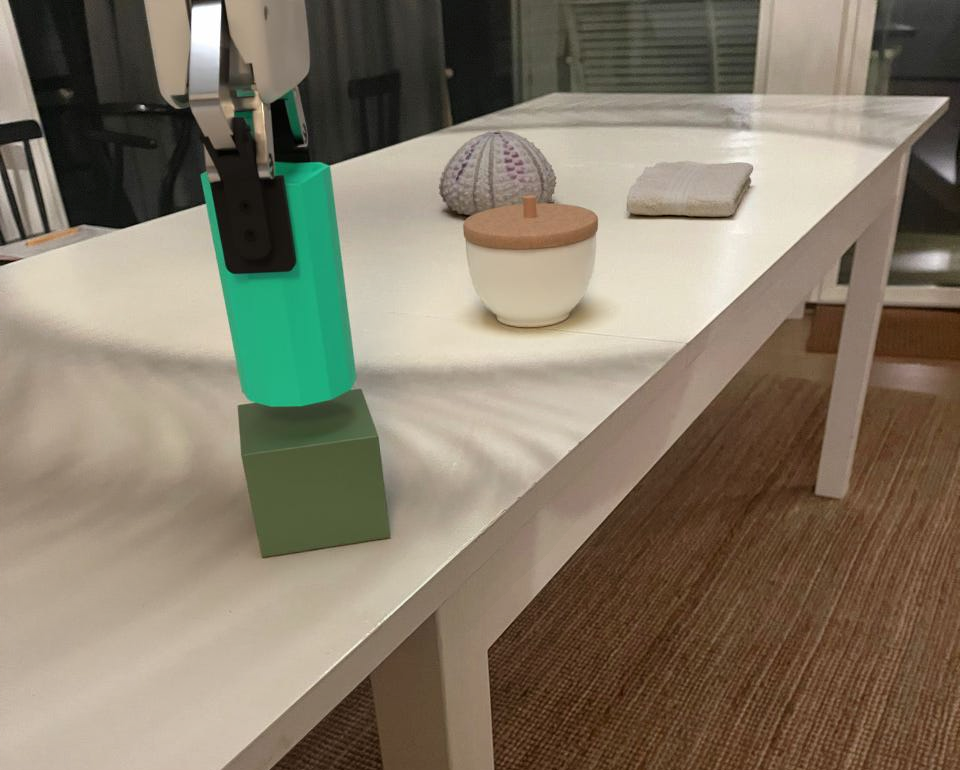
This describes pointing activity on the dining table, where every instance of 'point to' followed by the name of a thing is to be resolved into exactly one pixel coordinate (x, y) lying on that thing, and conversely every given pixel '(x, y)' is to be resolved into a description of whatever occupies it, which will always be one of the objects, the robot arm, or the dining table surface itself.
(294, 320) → the candle
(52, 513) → the dining table surface
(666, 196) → the washcloth
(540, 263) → the trinket box
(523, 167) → the sea urchin shell
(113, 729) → the dining table surface
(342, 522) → the block
